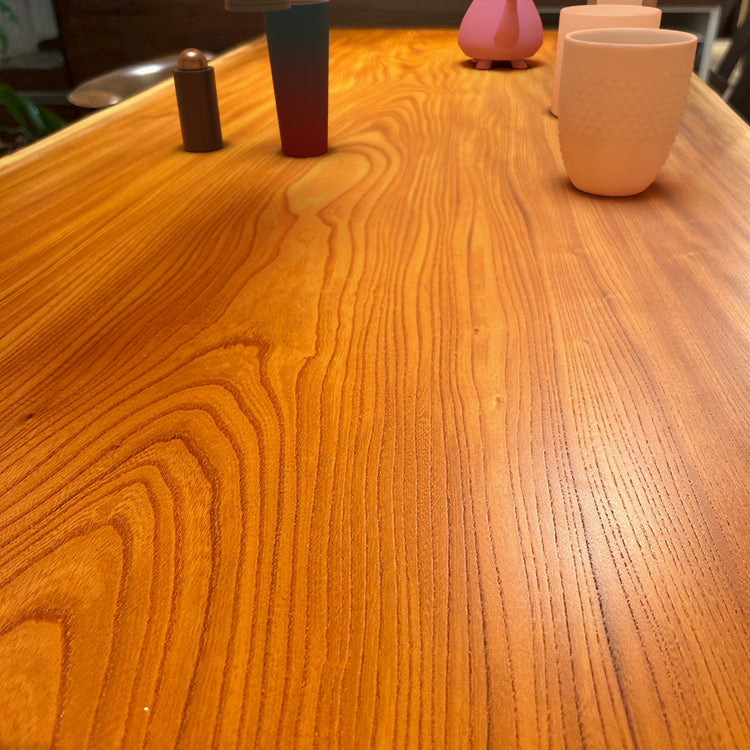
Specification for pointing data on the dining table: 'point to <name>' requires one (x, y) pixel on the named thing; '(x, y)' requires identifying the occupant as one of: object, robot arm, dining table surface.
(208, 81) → the pepper mill
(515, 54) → the teapot
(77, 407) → the dining table surface
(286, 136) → the cup
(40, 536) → the dining table surface
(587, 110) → the mug
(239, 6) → the bottle
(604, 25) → the cup
